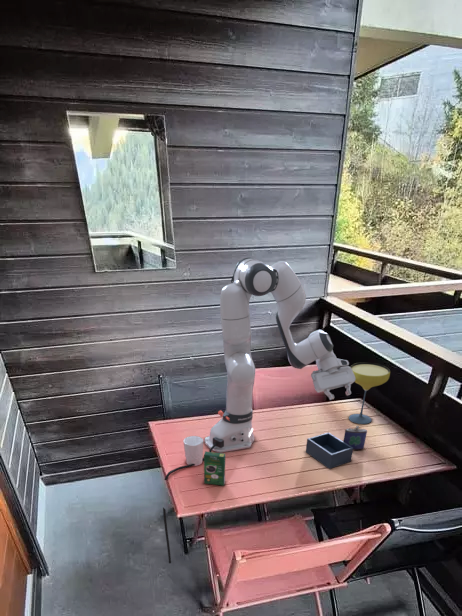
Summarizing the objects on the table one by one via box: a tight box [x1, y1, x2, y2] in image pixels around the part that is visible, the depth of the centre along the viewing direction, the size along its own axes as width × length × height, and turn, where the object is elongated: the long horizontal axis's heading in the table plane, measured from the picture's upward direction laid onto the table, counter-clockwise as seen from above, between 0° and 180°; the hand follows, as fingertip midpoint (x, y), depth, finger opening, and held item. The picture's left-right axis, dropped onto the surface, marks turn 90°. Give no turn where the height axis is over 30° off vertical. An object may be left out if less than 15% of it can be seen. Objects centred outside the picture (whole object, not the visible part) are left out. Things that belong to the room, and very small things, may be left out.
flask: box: [342, 425, 368, 451], centre depth 189 cm, size 9×3×11 cm, turn 87°
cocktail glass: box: [348, 362, 391, 425], centre depth 208 cm, size 18×18×25 cm
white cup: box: [182, 435, 204, 467], centre depth 179 cm, size 8×8×10 cm
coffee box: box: [203, 451, 226, 487], centre depth 166 cm, size 8×3×13 cm, turn 80°
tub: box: [305, 432, 354, 470], centre depth 184 cm, size 12×16×6 cm
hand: (340, 396), depth 189 cm, fingers open, 8 cm apart
